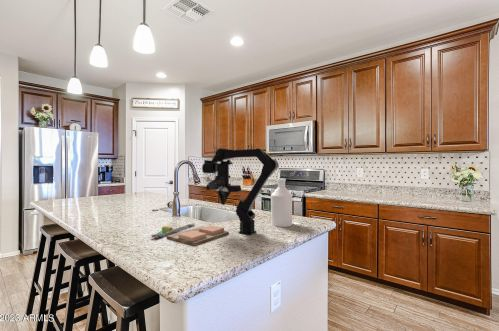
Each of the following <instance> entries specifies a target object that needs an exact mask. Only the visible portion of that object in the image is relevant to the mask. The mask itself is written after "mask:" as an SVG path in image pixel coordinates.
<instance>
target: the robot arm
mask: <svg viewBox="0 0 499 331" xmlns="http://www.w3.org/2000/svg"><path fill="white" fill-rule="evenodd" d="M235 158H257V160H259V162H260V163H261V164H262V165H263V166H262V168H261V172H260V175H259V176H258V178H257V180H256V181H255V182H254V185H253V186H252V188H251V189H250V191H249V193H248V195H247V196H246V197H245V198H242V199H239V202H238V203H237V205H236V206H235V208H236V209H235V214H236V216H237V217H238V219H239V231H238V234H243V235H252V234H255V233H257V230H256V229H255V228H256V227H255V217H256V213H254V211H253V210H252V209H253V208H254V203H255V200H257V198H258V196H259V195H260V193H261V191H262V189H263V187H264V186H265V184H266V183H267V181H268V179H269V178H270V177H271V176H272V175H273V174H274V173H276V171H277V170H278V169H279V167H280V166H279V165H280V164H279V161H278V160H277V159H275V158H274V159H273V158H272V157H271V156H270V155H268V154H267V153H266V152H265V151H264V150H263V149H262V148H254V149H253V148H251V149H229V148H222V147H221V148H218V149H216V152H215V154H214V156H213V158H211V160H209V159H208V160H207V159H204V160H203V164H202V166H201V170H202V173H203V174H216V175H215V176H214V177H215V178H214V179H213V180H211V181H209V182H208V183H207V184H206V186H205V190H206V191H212V190H214V193H216V194H217V195H218V197H219V200H220V203H221V205H222V206H225V204H226V202H227V200H228V199H229V198H228V197H229V196H230V194H231V193H235V192H236V193H237V192H242V187H241V185H239V184H231V183H230V178H231V175H230V165H233V164H234V163H233V162H232V161H231V160H232V159H235Z"/></svg>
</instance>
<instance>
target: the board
mask: <svg viewBox="0 0 499 331" xmlns="http://www.w3.org/2000/svg"><path fill="white" fill-rule="evenodd" d="M203 227H205V226H198V227H195V228H191V229H187V230H183V231H180V232H179V231H178V233H177V232H176V233H173V234H168V235H166V239H167V240H170V241H174V242H177V243H183V244H186V245H190V246H198V245H201V244H203V243H206V242H209V241H213V240H214V239H217V238H221V237H224V236H227V235H229V233H230V232H229V231H228V230H224V231H223V232H220V233H217V234H214V235H210V234H206V237H205V238H202V239H199V240H196V241H189V240H185V239H181V238H179V237H178V234H181V233H185V232H189V231H192V230H193V231H197V232H199V228H203Z"/></svg>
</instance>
